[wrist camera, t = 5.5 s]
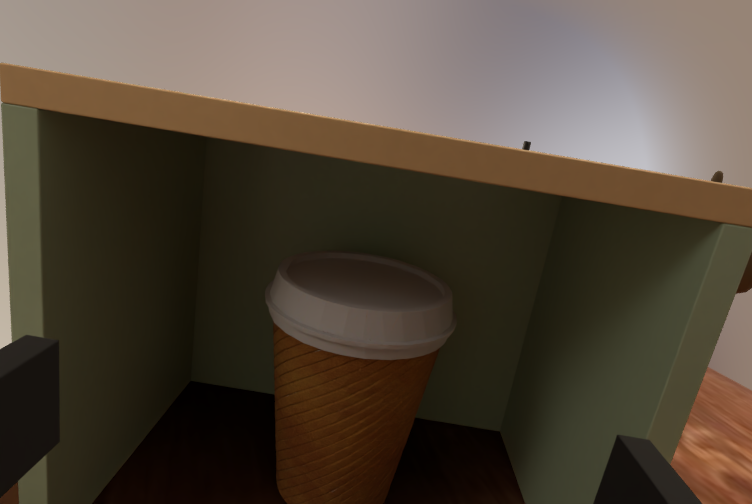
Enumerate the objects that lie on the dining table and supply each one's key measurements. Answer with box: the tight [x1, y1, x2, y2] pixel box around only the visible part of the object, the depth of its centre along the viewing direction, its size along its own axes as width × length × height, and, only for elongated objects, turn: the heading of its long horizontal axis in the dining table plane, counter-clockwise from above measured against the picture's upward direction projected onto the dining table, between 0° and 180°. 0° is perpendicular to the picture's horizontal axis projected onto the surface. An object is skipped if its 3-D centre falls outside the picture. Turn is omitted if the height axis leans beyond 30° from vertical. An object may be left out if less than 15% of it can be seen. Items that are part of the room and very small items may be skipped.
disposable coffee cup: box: [265, 251, 457, 504], centre depth 25 cm, size 10×10×12 cm
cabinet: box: [0, 63, 752, 504], centre depth 24 cm, size 15×24×19 cm, turn 88°
